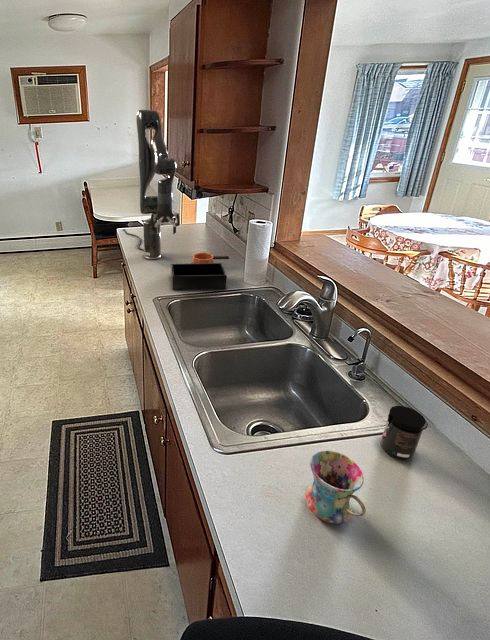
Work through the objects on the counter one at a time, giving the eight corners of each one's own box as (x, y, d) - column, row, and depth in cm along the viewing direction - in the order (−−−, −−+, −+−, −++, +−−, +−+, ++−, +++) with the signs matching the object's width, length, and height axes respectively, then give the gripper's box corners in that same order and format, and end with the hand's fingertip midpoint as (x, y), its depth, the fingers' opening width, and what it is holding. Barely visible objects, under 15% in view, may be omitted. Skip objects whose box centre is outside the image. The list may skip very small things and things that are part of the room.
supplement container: (404, 439, 94) (415, 406, 90) (419, 463, 88) (432, 428, 84) (374, 438, 95) (384, 404, 91) (387, 461, 89) (398, 426, 85)
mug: (293, 493, 83) (299, 457, 78) (329, 480, 85) (337, 445, 81) (335, 549, 72) (346, 510, 68) (375, 533, 75) (388, 495, 70)
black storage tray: (171, 276, 188) (171, 263, 186) (220, 276, 187) (221, 263, 184) (172, 290, 175) (172, 276, 172) (225, 289, 173) (226, 275, 170)
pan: (193, 268, 197) (194, 259, 195) (192, 260, 206) (192, 252, 204) (229, 267, 196) (230, 259, 194) (226, 260, 205) (227, 252, 203)
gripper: (180, 199, 191) (179, 231, 197) (151, 200, 192) (151, 231, 199) (180, 203, 184) (179, 236, 190) (149, 203, 186) (150, 236, 192)
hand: (165, 233), depth 195 cm, fingers open, 8 cm apart
